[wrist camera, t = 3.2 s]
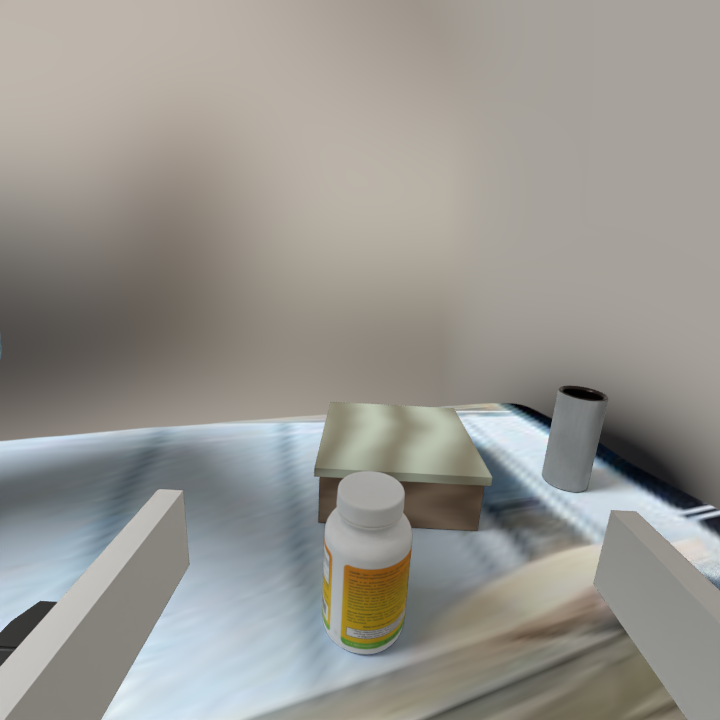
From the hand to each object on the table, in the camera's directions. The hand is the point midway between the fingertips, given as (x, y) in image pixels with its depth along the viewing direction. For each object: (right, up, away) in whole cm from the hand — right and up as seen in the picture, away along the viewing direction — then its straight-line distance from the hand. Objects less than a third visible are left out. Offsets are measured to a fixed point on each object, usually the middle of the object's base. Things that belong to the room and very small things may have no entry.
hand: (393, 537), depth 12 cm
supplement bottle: (-1, -12, +14) cm, 18 cm away
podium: (+2, -7, +29) cm, 30 cm away
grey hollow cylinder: (+21, -8, +31) cm, 38 cm away
